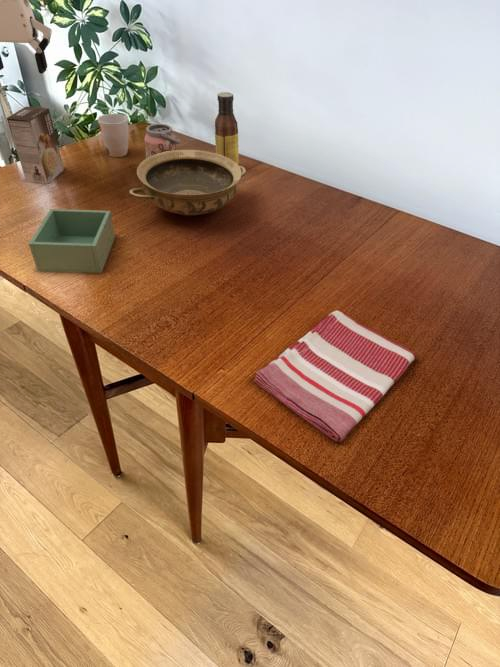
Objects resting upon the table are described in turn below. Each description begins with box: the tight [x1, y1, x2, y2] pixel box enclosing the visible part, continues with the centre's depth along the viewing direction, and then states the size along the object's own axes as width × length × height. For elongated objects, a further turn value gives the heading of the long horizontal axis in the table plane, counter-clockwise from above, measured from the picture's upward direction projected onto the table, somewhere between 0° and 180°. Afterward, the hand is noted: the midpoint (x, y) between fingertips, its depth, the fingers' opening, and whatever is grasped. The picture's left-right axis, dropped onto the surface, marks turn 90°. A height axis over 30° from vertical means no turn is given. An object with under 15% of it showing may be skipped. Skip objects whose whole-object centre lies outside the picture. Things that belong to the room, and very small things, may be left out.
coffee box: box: [6, 106, 65, 185], centre depth 118 cm, size 9×6×16 cm
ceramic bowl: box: [128, 149, 247, 217], centre depth 110 cm, size 30×24×10 cm
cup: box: [97, 113, 130, 158], centre depth 132 cm, size 8×8×10 cm
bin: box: [28, 208, 116, 274], centre depth 95 cm, size 13×14×7 cm
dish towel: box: [253, 309, 417, 443], centre depth 75 cm, size 17×23×3 cm
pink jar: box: [143, 123, 181, 159], centre depth 124 cm, size 9×8×12 cm
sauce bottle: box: [214, 91, 240, 165], centre depth 124 cm, size 6×6×20 cm
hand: (21, 70), depth 105 cm, fingers open, 9 cm apart
